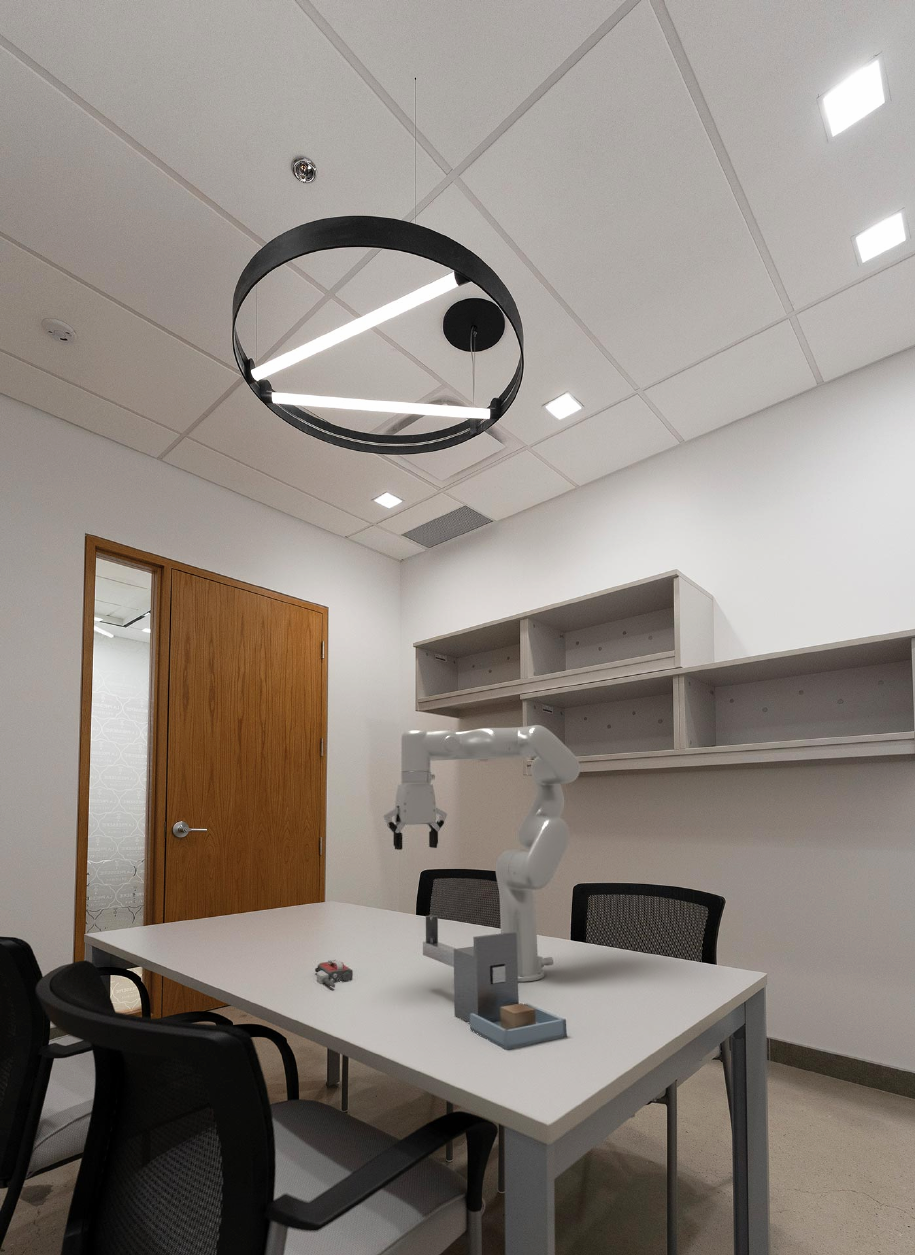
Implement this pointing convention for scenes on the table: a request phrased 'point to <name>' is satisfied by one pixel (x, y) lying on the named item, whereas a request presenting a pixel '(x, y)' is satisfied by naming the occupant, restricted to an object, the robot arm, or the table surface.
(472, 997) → the bracket
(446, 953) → the steel shaft
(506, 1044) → the slate tray
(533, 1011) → the block
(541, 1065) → the table surface
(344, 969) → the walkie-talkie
